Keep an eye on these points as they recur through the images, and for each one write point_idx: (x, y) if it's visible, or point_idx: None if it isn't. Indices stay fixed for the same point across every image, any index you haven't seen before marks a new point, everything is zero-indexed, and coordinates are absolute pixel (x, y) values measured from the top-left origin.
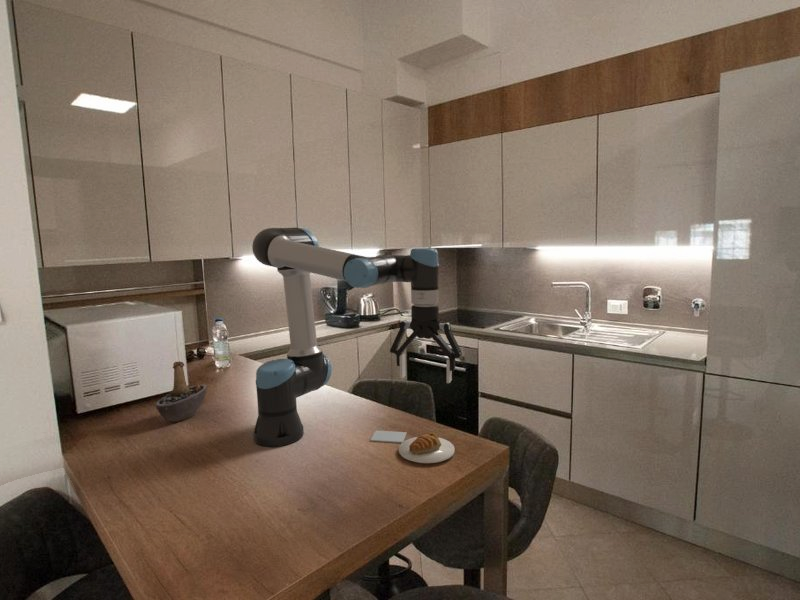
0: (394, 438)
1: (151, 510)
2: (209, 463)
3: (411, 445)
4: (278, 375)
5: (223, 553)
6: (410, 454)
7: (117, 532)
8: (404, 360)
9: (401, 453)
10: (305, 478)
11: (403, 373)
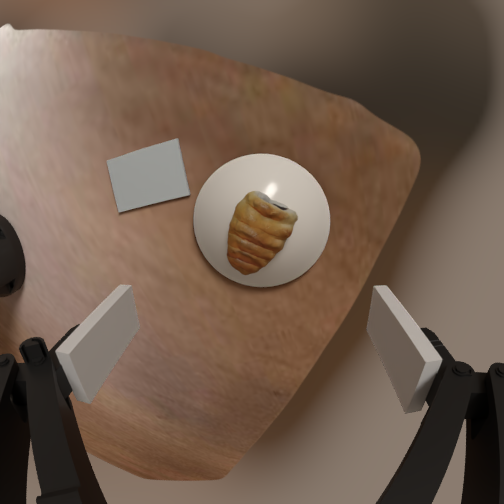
0: (163, 184)
1: None
2: (9, 344)
3: (233, 263)
4: None
5: (152, 459)
6: None
7: None
8: (93, 346)
9: (215, 267)
10: None
11: (128, 324)
